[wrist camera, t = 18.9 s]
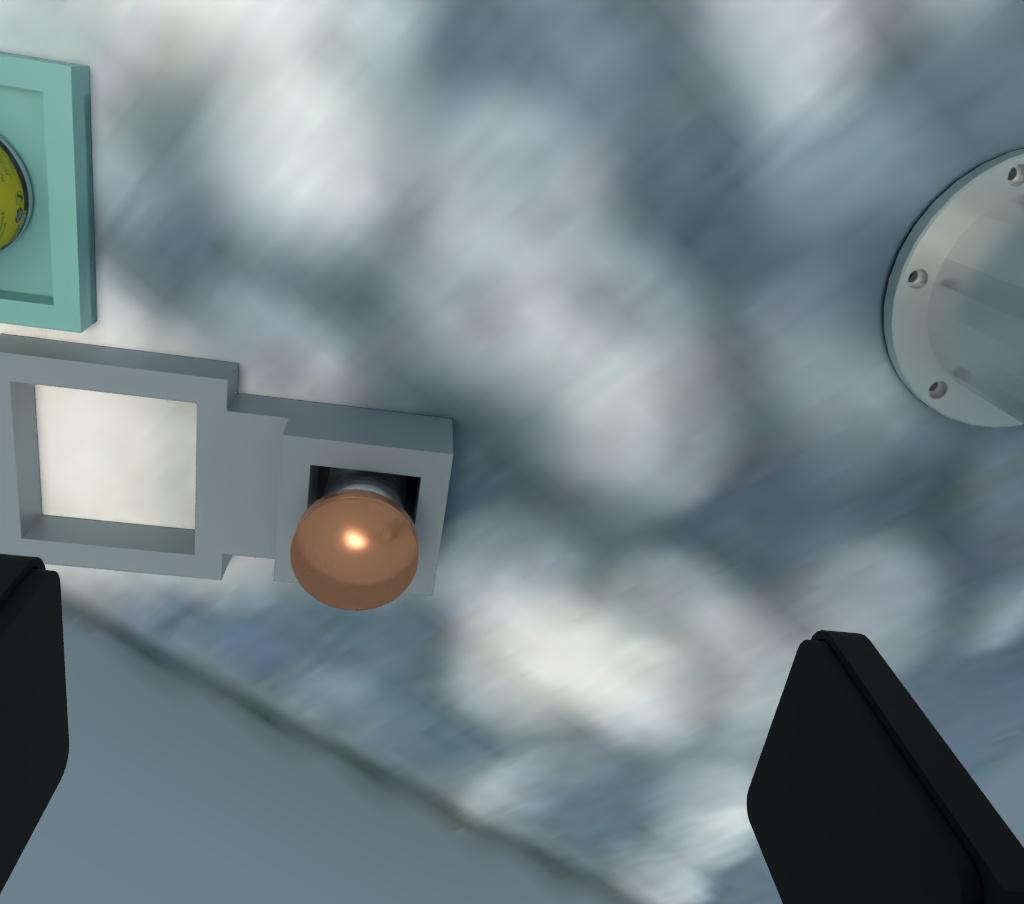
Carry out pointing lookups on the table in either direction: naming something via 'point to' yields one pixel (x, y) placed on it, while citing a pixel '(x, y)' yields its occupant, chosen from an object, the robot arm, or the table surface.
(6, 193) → the supplement bottle
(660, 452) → the table surface
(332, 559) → the plunger
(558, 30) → the table surface
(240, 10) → the table surface
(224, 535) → the housing
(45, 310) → the tray
